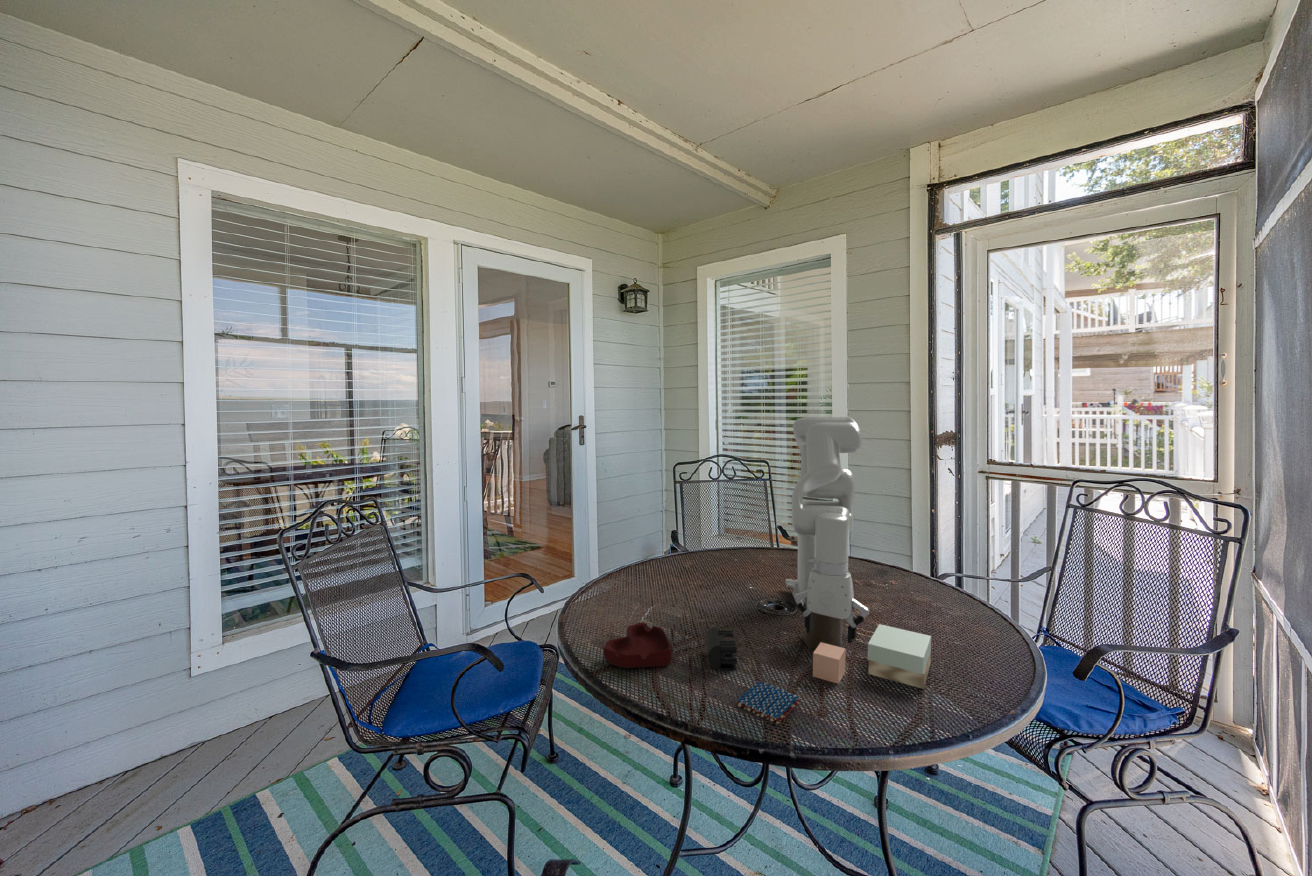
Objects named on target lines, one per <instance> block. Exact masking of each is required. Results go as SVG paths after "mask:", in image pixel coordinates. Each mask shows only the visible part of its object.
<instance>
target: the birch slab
mask: <svg viewBox="0 0 1312 876" xmlns="http://www.w3.org/2000/svg"><path fill="white" fill-rule="evenodd" d="M931 655H932V651H931V652H930V655H929V658H928V661H927V664H926V667H925V670H924V673H923V674H920V673H916V672H912V671H908V670H905V669H901V668H897V667H894V666H890V665H886V664H882V663H879V662H875V661H871V660H868V671H867V672H868V673H867V674H868V675H872V676H874V677H879V678H882V679H884V680H885V679H887V680H889V681H894V682H897V683H899V684H900V683H901V684H904V685H908V686H911V687H914V686H915V687H916V688H918V689H922V690H924V689H925V686H926V682H927V678H928V674H929V671H930V667H931V661H932V659H931V658H932V657H931Z"/></svg>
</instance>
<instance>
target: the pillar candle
mask: <svg viewBox="0 0 1312 876" xmlns="http://www.w3.org/2000/svg"><path fill="white" fill-rule="evenodd" d="M806 591H807V590H806ZM805 604H806V606H807V597H806V598H805ZM812 613H813V612H812ZM803 627H804V628H803V630H804V631H803V642H804V644H805V645H806V646H808V647H809V648H810V649H813V650H814V651H815V650H816V648H817V647H818V645H819V644H820V642H822V643H826V644H830V645H834V646H837V647H841V648H842V645H843V643H842V641H843V640H842V639H843V637H842V635H843V619H839V618H834V617H830V616H825V615H821V614H817V613H813V629H812V631H811V632H810V633H807V632H806V627H805V620H804V625H803Z"/></svg>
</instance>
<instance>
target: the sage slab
mask: <svg viewBox="0 0 1312 876" xmlns="http://www.w3.org/2000/svg"><path fill="white" fill-rule="evenodd" d="M931 649H932V635H929V634H923V633H920V632H916V631H910V630H907V629H903V628H898V627H894V626H888V625H884V624H881V623H879V624H878V626H877V627H876V629H875V631H874V632H873V634H872V636H871V638H870V640H869V641H868V643H867V660H868V661H869V660H871V661H875V662H879V663H882V664H886V665H890V666H894V667H897V668H901V669H905V670H908V671H912V672H916V673H920V674H923V673H924V670H925V667H926V664H927V661H928V658H929V655H930V652H931V653H932V650H931Z"/></svg>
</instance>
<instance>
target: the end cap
mask: <svg viewBox="0 0 1312 876" xmlns="http://www.w3.org/2000/svg"><path fill="white" fill-rule="evenodd" d="M734 636H735V634H734V630H732V629H731V630H730V629H729V630H727V629H725V630H718V627H717V626H714V627H710V628H709V629H708V630H707V631H706V633H705V637H704V641H705V646H706V654H707V659H708V662H709V664H710V665H711V666H712V668H715V669H716V670H718V671H736V670H738V669H737V665H738V662H737V661H738V658H737V657H735V654H736V655H737V654H738V650H737V649H738V646H737V643H736V640H727V639H725V638H728V637H729V638H730V637H734Z"/></svg>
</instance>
